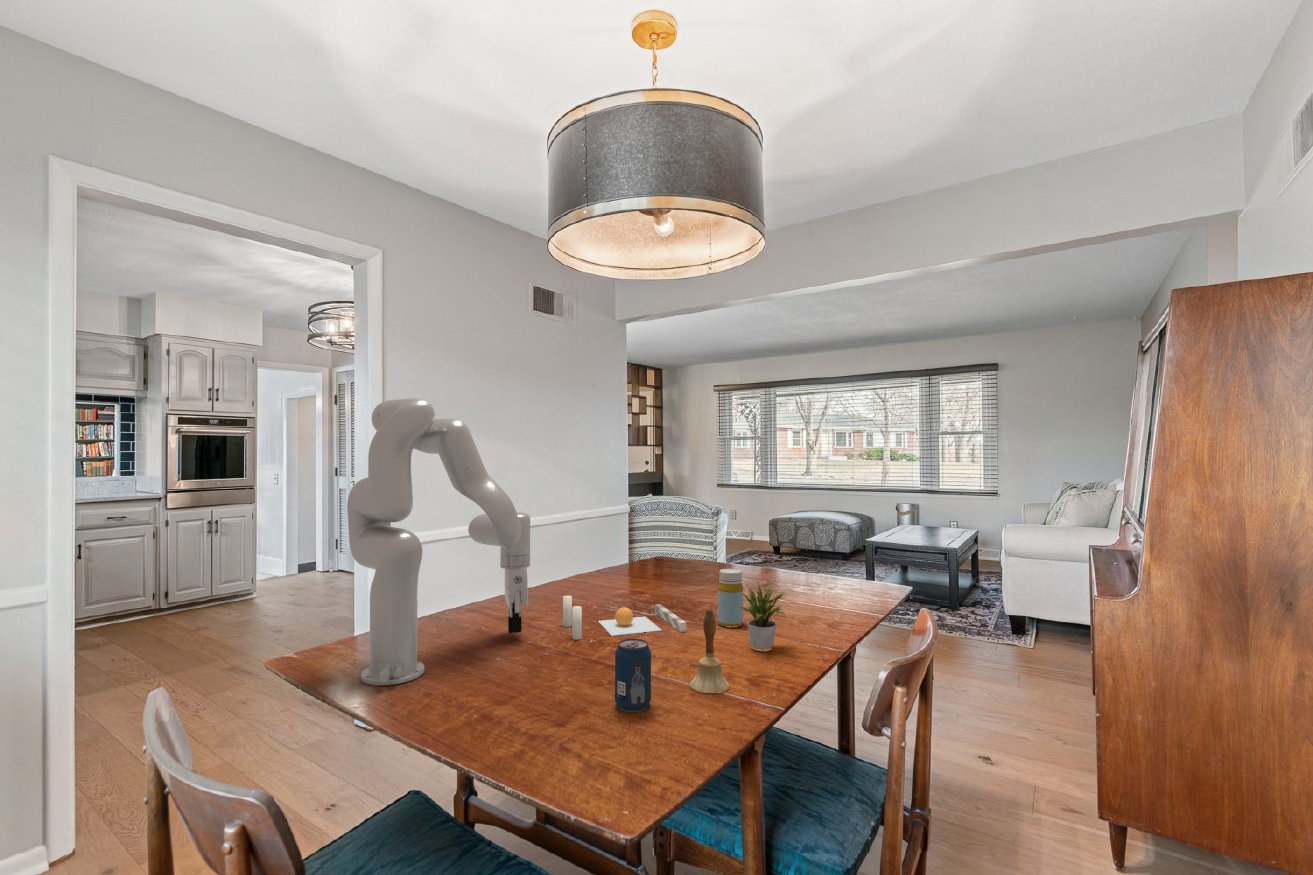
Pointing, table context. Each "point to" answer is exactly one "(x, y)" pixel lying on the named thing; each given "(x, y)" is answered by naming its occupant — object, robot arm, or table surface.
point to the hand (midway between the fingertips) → (514, 631)
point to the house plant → (762, 617)
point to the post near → (576, 622)
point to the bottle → (730, 598)
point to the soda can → (633, 675)
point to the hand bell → (709, 662)
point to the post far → (567, 611)
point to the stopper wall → (670, 618)
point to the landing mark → (629, 626)
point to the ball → (624, 616)
